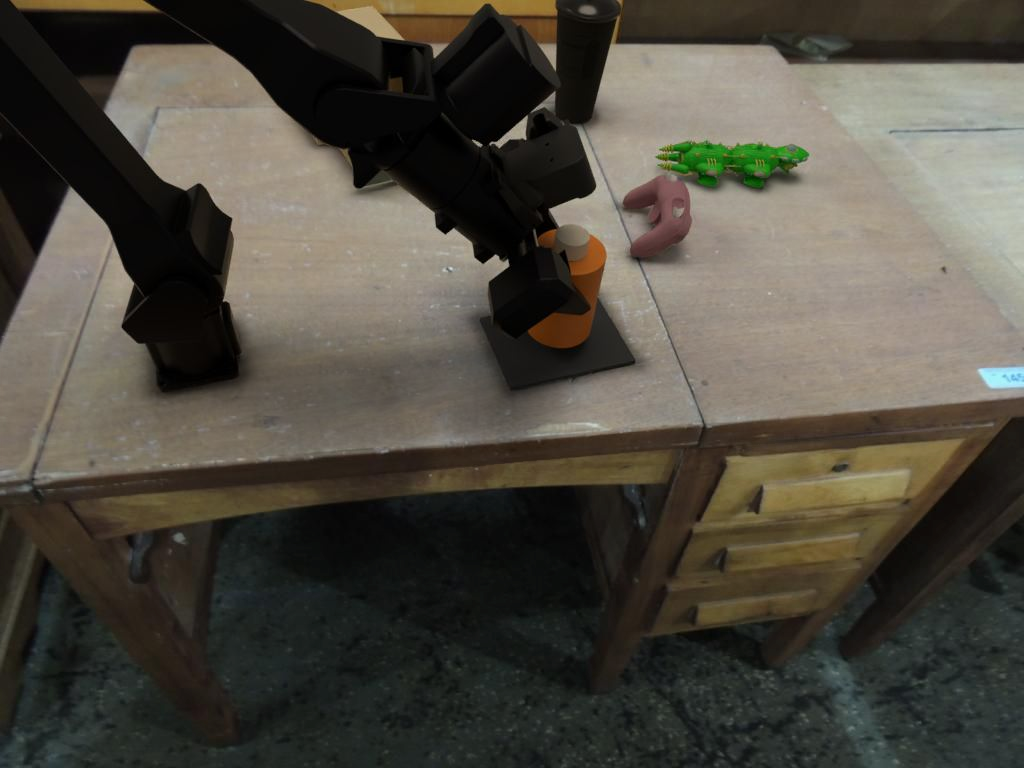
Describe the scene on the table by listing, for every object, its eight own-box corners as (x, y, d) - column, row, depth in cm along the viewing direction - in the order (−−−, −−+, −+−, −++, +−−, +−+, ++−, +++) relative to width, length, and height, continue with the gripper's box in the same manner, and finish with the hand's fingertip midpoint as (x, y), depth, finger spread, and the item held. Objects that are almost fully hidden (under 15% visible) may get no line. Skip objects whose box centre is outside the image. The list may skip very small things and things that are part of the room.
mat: (510, 391, 64) (510, 388, 64) (479, 320, 70) (479, 317, 69) (635, 363, 67) (636, 360, 67) (596, 298, 73) (596, 294, 72)
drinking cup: (613, 111, 96) (643, -58, 81) (585, 136, 92) (612, -38, 77) (562, 93, 99) (583, -75, 84) (532, 116, 94) (548, -57, 79)
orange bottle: (514, 334, 66) (524, 244, 58) (539, 293, 69) (551, 204, 62) (577, 357, 64) (596, 267, 57) (599, 314, 68) (619, 225, 61)
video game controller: (661, 274, 78) (706, 227, 73) (626, 256, 76) (669, 207, 72) (650, 217, 85) (691, 171, 80) (618, 199, 83) (658, 151, 78)
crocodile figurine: (808, 192, 87) (822, 159, 84) (658, 188, 86) (666, 155, 82) (791, 160, 92) (803, 128, 88) (648, 156, 90) (655, 124, 87)
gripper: (558, 182, 44) (690, 310, 54) (518, 39, 56) (632, 165, 66) (428, 285, 49) (570, 386, 59) (417, 134, 61) (537, 238, 71)
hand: (579, 285), depth 64 cm, fingers closed on orange bottle, 6 cm apart
